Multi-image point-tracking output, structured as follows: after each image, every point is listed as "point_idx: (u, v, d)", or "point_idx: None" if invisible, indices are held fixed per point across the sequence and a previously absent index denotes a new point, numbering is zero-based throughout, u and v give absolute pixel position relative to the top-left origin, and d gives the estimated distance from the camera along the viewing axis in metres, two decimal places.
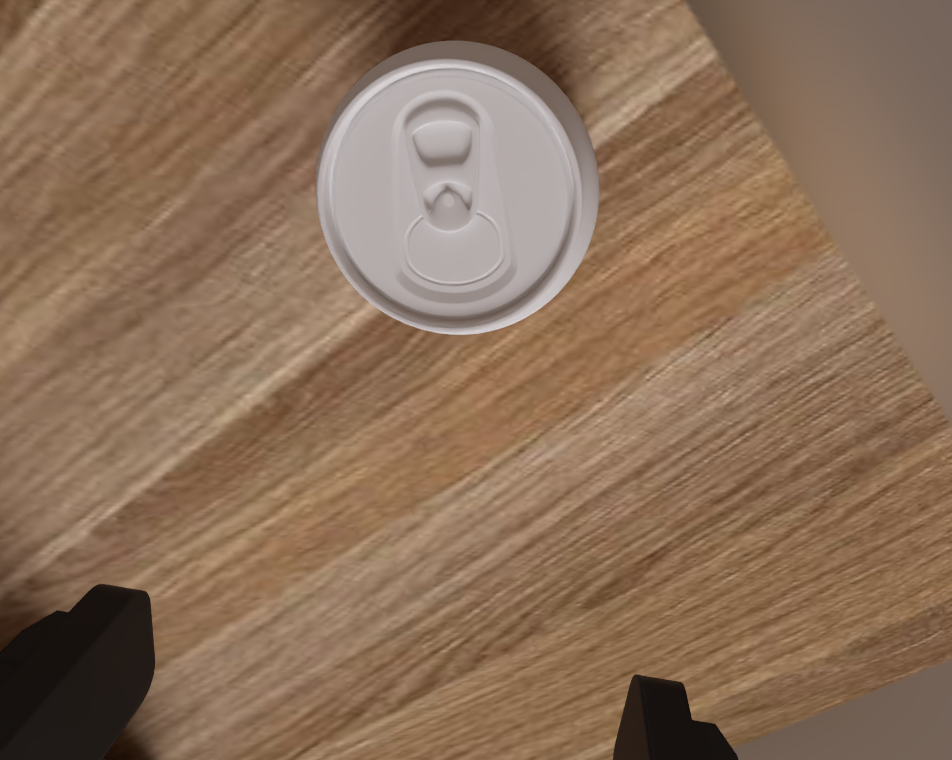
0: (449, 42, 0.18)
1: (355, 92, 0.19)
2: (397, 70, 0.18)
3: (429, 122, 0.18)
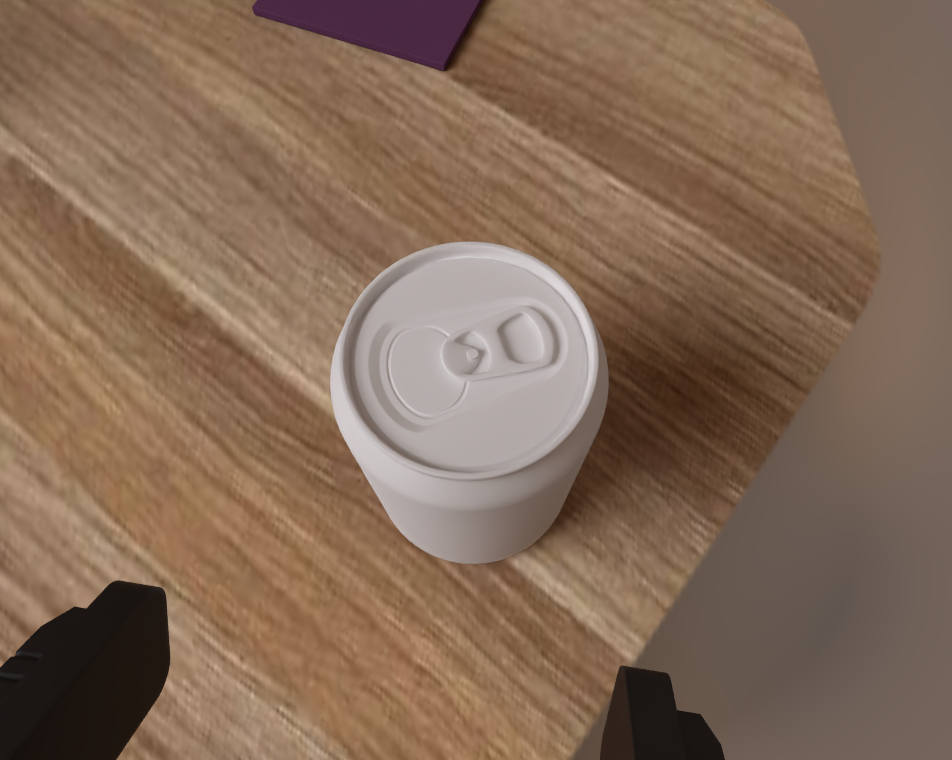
0: None
1: None
2: (571, 289, 0.20)
3: (536, 323, 0.20)
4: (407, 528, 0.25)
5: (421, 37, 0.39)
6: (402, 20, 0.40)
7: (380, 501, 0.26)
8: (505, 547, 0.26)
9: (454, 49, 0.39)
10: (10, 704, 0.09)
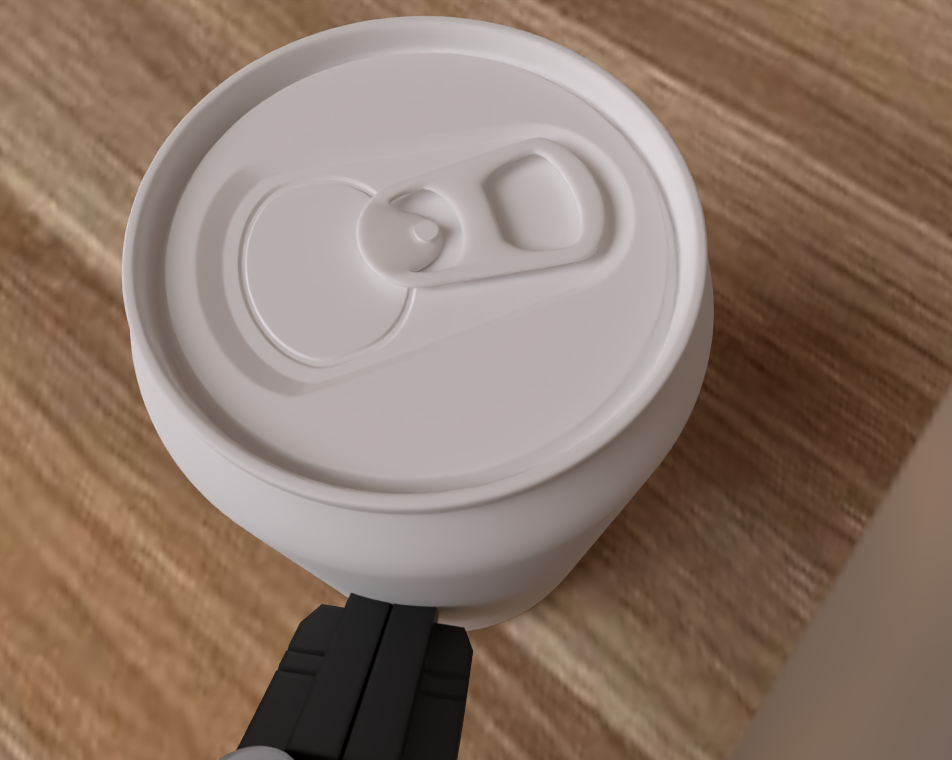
0: None
1: None
2: (640, 102, 0.09)
3: (566, 172, 0.09)
4: None
5: None
6: None
7: None
8: (495, 615, 0.15)
9: None
10: (320, 694, 0.10)
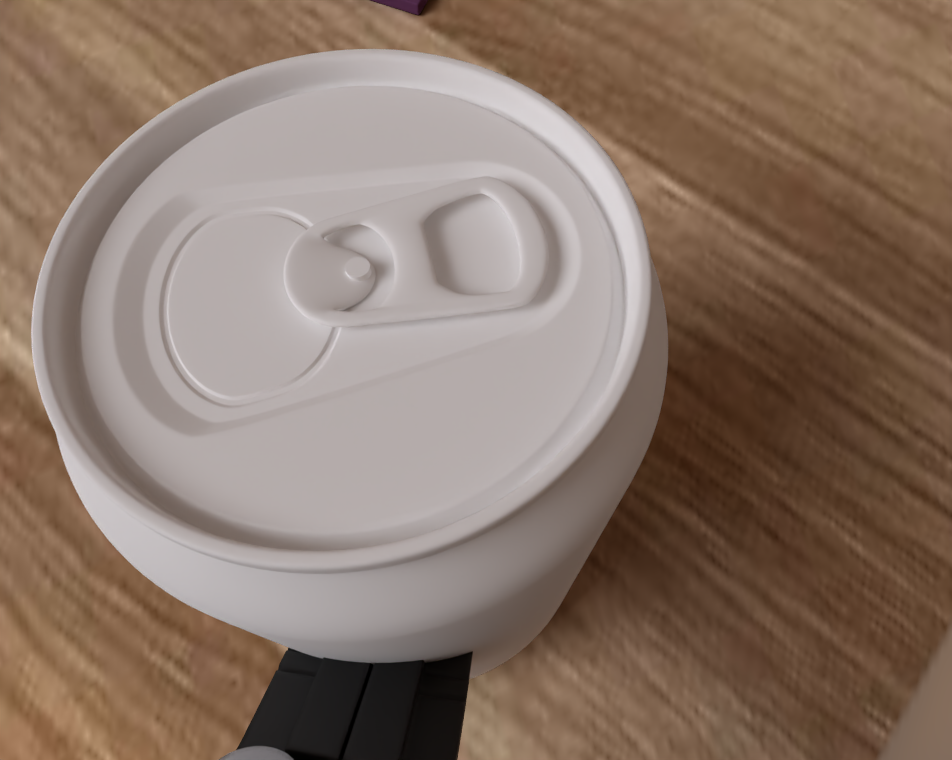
0: (655, 270, 0.09)
1: None
2: (595, 146, 0.09)
3: (511, 214, 0.09)
4: None
5: None
6: None
7: None
8: None
9: None
10: (320, 694, 0.10)
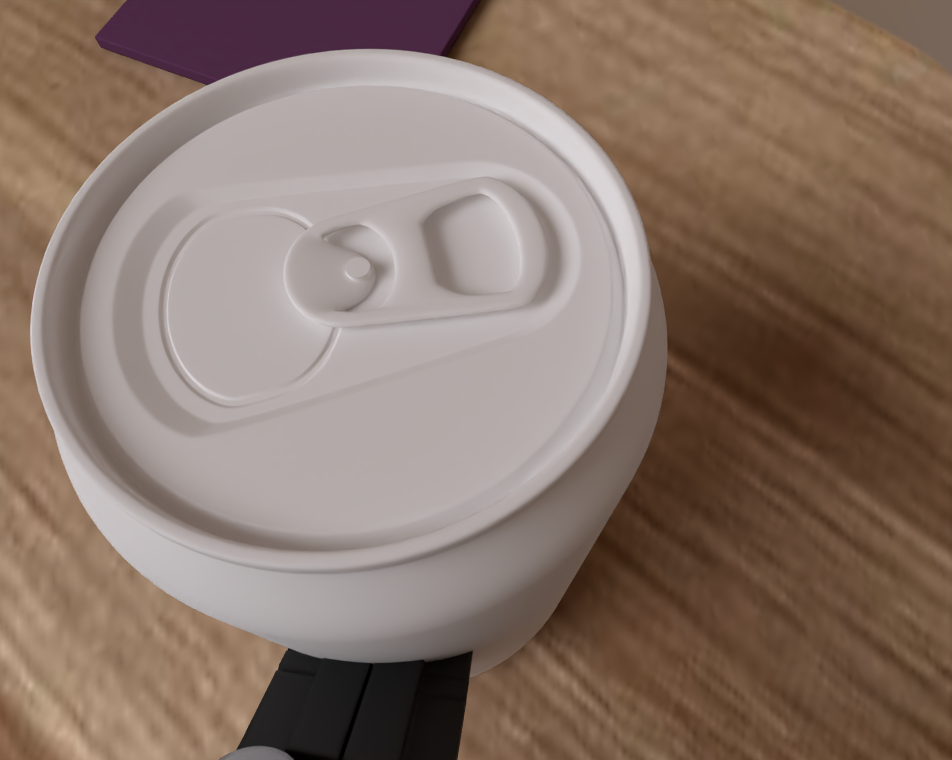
0: (654, 270, 0.10)
1: None
2: (595, 146, 0.09)
3: (511, 214, 0.09)
4: None
5: None
6: None
7: None
8: None
9: None
10: (320, 694, 0.10)
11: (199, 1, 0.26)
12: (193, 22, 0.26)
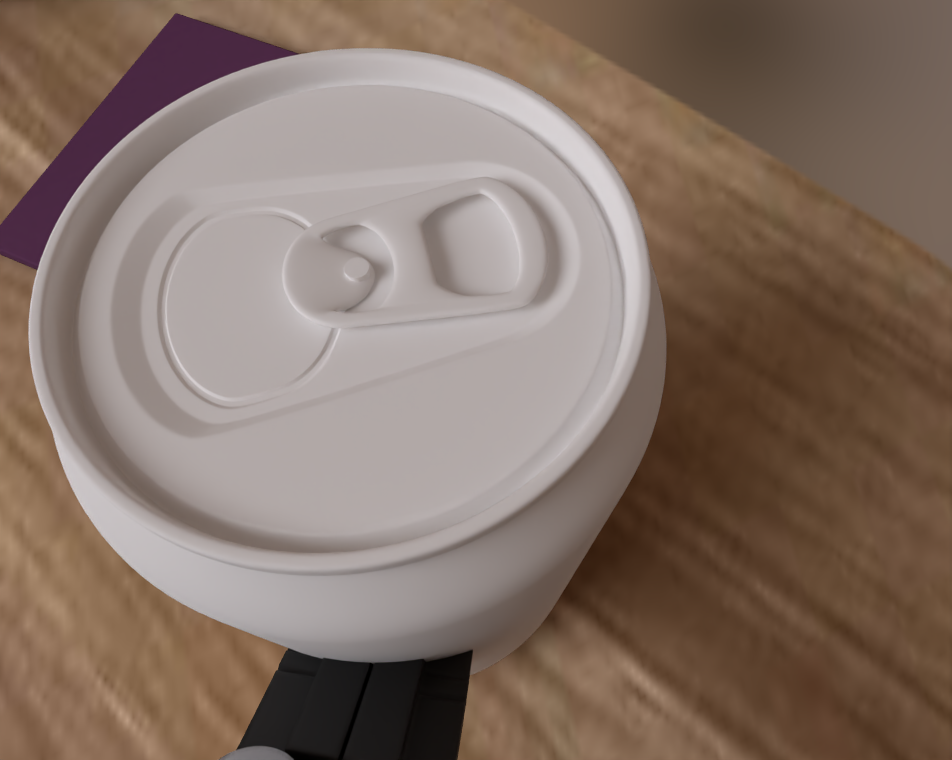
0: (653, 270, 0.10)
1: None
2: (595, 146, 0.09)
3: (510, 214, 0.09)
4: None
5: None
6: None
7: None
8: None
9: None
10: (320, 694, 0.10)
11: None
12: None
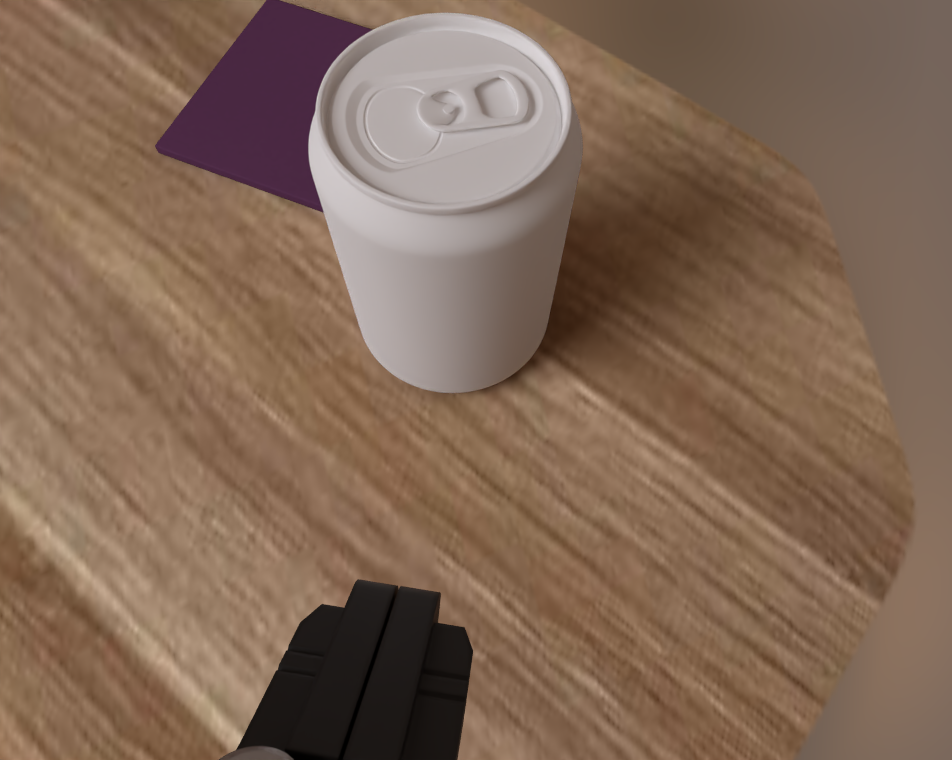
0: None
1: None
2: (548, 55, 0.20)
3: (512, 85, 0.20)
4: (382, 332, 0.25)
5: None
6: None
7: (357, 314, 0.26)
8: (478, 360, 0.26)
9: None
10: (320, 694, 0.10)
11: (234, 116, 0.34)
12: (230, 134, 0.34)
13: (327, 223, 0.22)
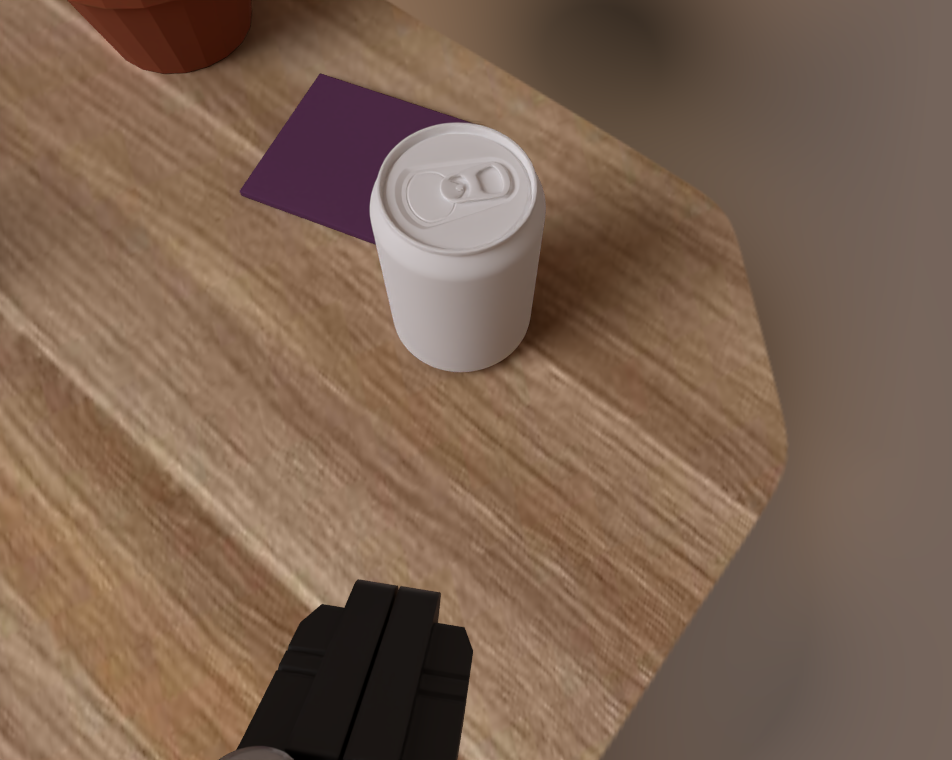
0: None
1: None
2: (523, 152, 0.32)
3: (500, 171, 0.32)
4: (413, 329, 0.37)
5: None
6: None
7: (395, 316, 0.38)
8: (479, 348, 0.37)
9: None
10: (320, 694, 0.10)
11: (297, 168, 0.46)
12: (295, 181, 0.45)
13: (379, 257, 0.34)
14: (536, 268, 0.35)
